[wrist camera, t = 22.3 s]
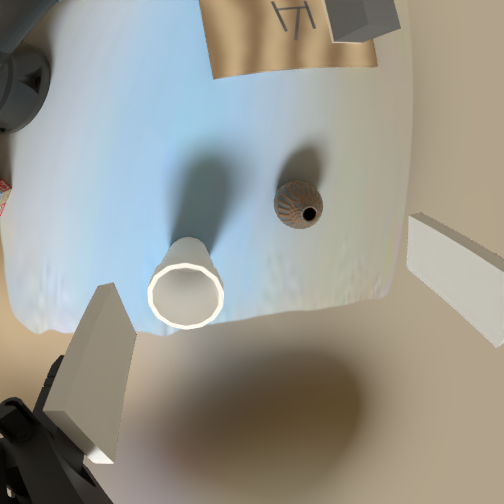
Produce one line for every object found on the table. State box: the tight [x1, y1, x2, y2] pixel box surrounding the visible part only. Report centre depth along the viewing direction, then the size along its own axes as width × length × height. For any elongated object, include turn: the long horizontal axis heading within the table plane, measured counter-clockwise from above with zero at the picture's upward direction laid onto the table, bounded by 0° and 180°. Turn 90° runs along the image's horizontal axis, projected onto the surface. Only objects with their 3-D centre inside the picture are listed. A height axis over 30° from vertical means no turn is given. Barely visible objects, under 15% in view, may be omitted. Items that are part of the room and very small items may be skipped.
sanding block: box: [322, 0, 401, 44], centre depth 31 cm, size 8×5×11 cm, turn 10°
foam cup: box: [148, 237, 224, 329], centre depth 42 cm, size 10×9×13 cm
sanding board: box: [199, 0, 378, 80], centre depth 36 cm, size 26×16×1 cm, turn 100°
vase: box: [274, 180, 323, 229], centre depth 43 cm, size 7×7×9 cm
